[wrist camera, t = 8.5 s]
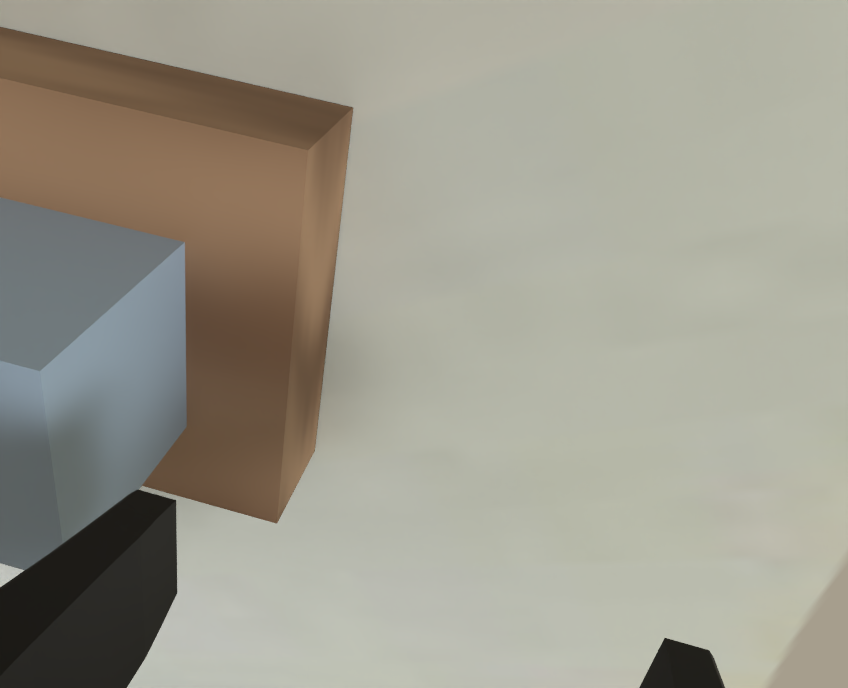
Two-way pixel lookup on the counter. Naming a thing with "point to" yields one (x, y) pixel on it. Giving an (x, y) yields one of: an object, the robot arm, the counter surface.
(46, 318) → the slate-blue cube
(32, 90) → the walnut base
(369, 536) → the counter surface
